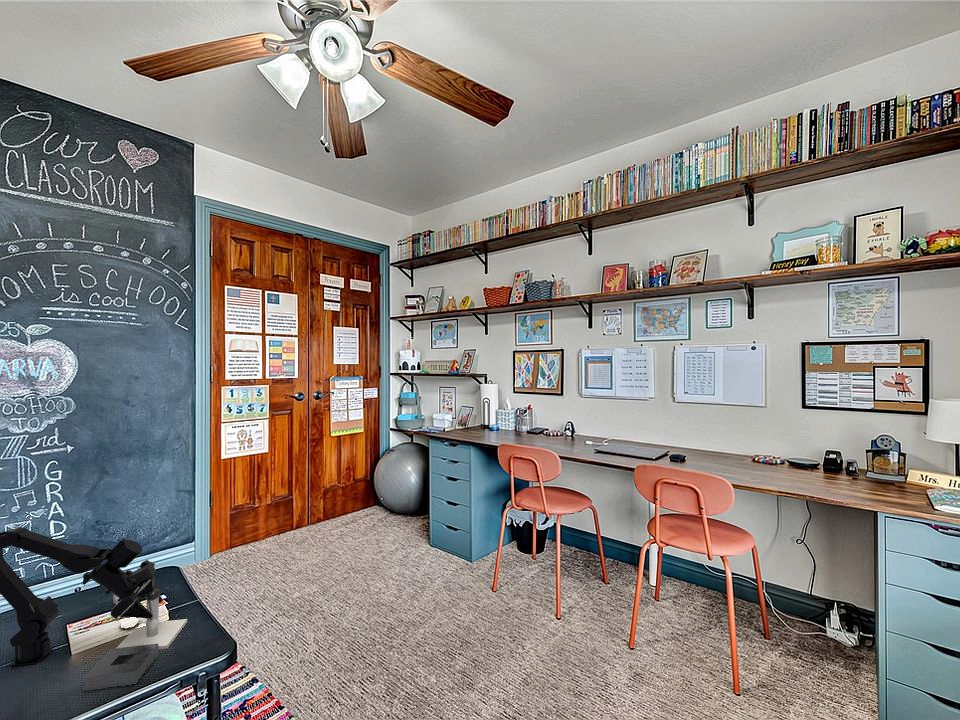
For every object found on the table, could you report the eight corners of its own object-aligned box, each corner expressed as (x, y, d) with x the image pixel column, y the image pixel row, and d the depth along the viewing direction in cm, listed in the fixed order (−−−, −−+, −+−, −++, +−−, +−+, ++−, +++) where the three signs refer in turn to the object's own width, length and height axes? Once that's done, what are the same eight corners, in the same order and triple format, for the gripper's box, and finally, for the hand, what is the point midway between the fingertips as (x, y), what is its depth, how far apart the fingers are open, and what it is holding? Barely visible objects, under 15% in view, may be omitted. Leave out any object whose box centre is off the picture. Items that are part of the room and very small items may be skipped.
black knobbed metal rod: (145, 639, 138) (146, 595, 138) (144, 633, 141) (145, 591, 141) (160, 634, 141) (160, 591, 141) (158, 629, 143) (159, 587, 143)
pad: (113, 654, 133) (113, 651, 132) (138, 627, 146) (138, 623, 146) (167, 648, 135) (167, 645, 135) (187, 622, 149) (187, 618, 149)
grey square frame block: (83, 691, 118) (83, 677, 118) (111, 661, 130) (111, 648, 130) (136, 684, 120) (136, 671, 120) (158, 655, 132) (158, 643, 132)
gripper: (123, 570, 131) (169, 602, 134) (147, 545, 148) (186, 574, 152) (90, 603, 128) (137, 634, 132) (117, 573, 146) (158, 602, 149)
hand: (156, 609), depth 141 cm, fingers open, 9 cm apart
